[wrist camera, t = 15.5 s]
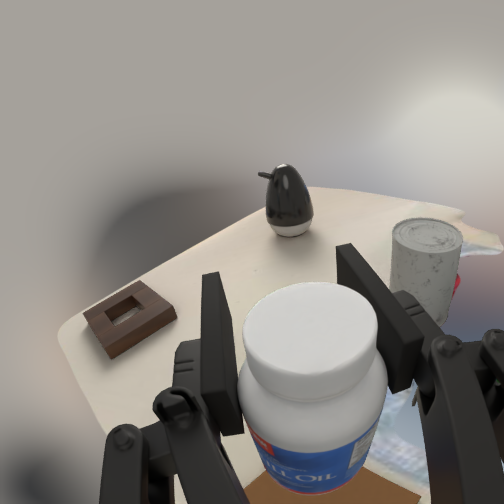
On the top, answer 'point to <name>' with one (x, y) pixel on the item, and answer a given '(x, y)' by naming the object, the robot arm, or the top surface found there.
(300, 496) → the cork pad
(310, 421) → the pill bottle
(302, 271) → the top surface
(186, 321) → the top surface
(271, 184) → the black egg-shaped figure
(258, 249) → the top surface
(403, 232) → the concrete cylinder
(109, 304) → the socket base
